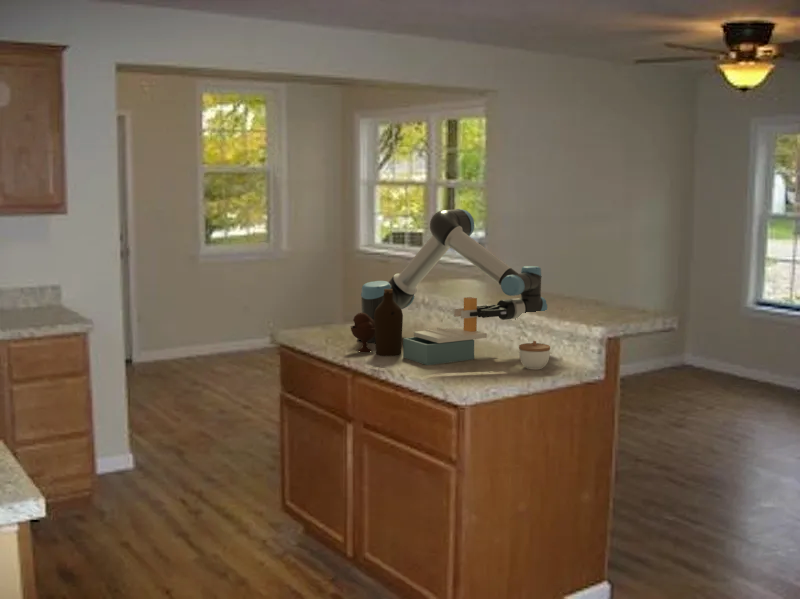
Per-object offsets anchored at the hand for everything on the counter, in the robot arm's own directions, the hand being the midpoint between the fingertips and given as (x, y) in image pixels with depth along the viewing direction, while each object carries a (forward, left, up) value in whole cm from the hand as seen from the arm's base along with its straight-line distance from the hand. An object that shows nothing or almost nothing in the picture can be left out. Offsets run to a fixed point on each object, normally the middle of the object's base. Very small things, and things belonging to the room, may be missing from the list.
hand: (457, 313), depth 325 cm
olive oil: (-17, -19, -17) cm, 31 cm away
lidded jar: (+27, +14, -17) cm, 35 cm away
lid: (0, -3, -8) cm, 9 cm away
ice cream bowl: (-30, -22, -17) cm, 41 cm away
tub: (0, -8, -17) cm, 18 cm away
